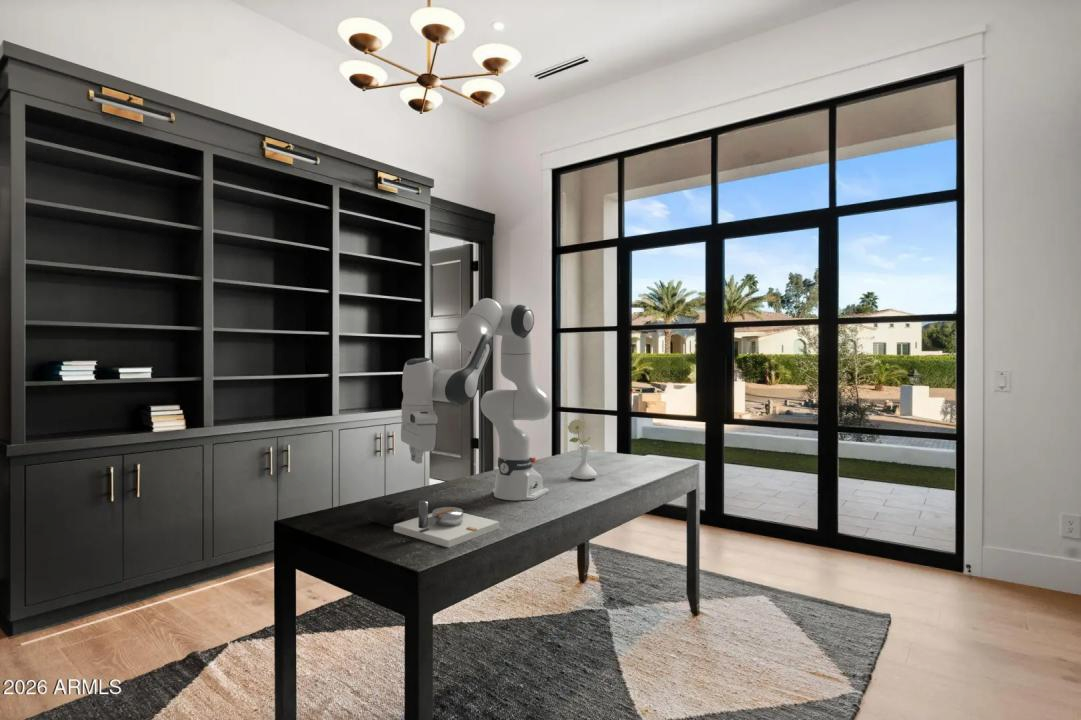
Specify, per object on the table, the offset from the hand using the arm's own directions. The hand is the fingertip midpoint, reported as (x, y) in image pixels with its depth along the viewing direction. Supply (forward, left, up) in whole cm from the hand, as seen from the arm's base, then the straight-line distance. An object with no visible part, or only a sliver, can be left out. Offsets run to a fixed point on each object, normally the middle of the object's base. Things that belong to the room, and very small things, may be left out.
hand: (416, 462), depth 171 cm
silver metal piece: (-6, +4, -18) cm, 20 cm away
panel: (-9, +4, -21) cm, 23 cm away
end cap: (-1, -14, -21) cm, 25 cm away
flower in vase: (-95, -1, -21) cm, 97 cm away
